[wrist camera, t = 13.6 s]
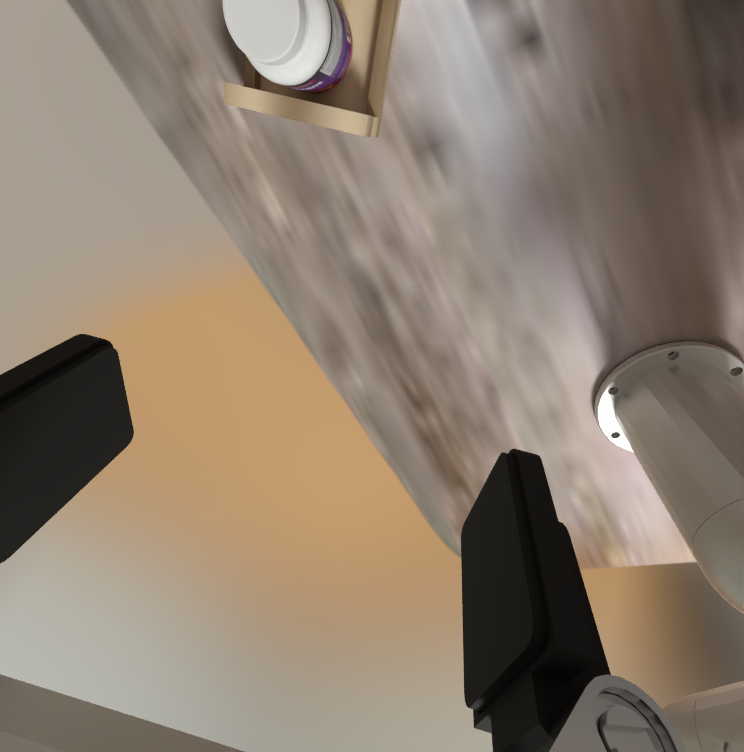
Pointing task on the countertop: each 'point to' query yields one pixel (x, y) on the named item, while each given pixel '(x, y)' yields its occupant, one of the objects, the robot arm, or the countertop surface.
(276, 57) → the pill bottle
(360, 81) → the rack
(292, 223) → the countertop surface
